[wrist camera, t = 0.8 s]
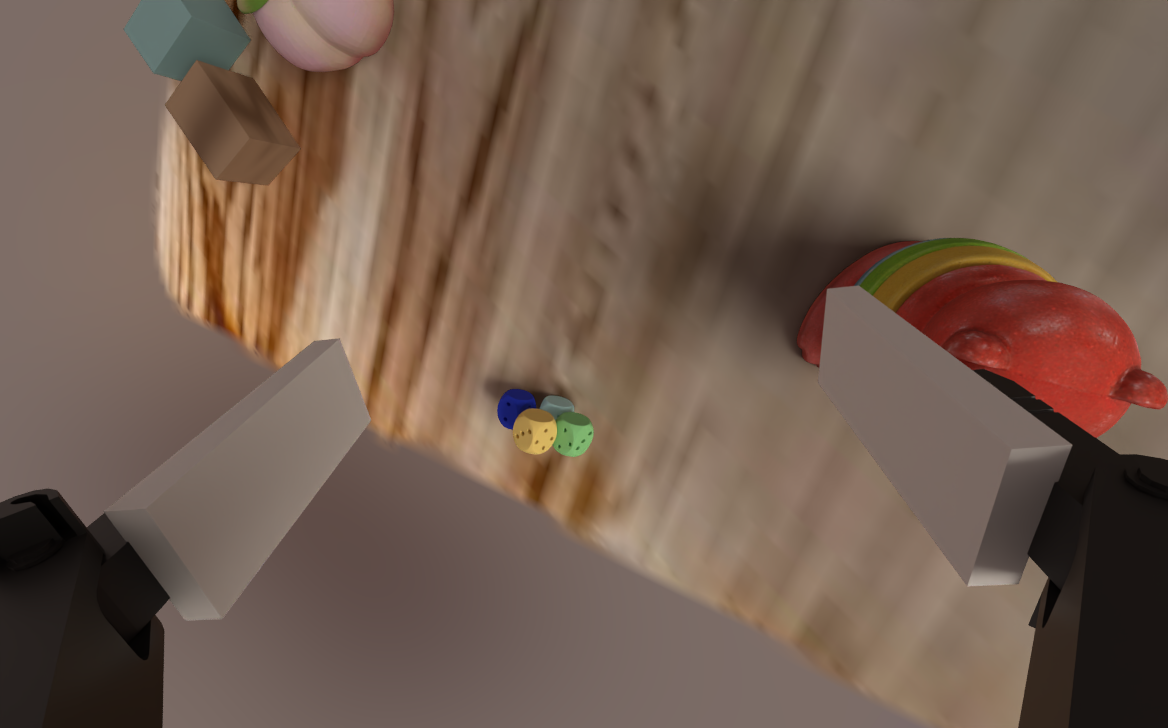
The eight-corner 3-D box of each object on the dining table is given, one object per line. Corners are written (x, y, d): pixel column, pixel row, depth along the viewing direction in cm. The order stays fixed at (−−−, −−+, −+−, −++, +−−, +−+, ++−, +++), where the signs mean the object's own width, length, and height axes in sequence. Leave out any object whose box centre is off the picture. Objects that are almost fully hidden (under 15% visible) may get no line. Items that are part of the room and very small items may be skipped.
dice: (510, 409, 43) (474, 436, 37) (516, 381, 43) (480, 404, 37) (597, 439, 42) (574, 473, 36) (605, 411, 41) (582, 441, 35)
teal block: (224, -1, 42) (160, -31, 37) (251, 40, 42) (191, 16, 37) (188, 51, 44) (123, 29, 39) (214, 90, 44) (153, 73, 40)
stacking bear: (785, 354, 36) (828, 454, 19) (854, 213, 33) (975, 190, 16) (942, 414, 34) (1138, 583, 17) (1032, 271, 31) (1377, 311, 14)
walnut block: (224, 118, 45) (164, 105, 40) (254, 79, 43) (196, 59, 38) (269, 185, 45) (215, 179, 40) (302, 149, 43) (249, 138, 39)
